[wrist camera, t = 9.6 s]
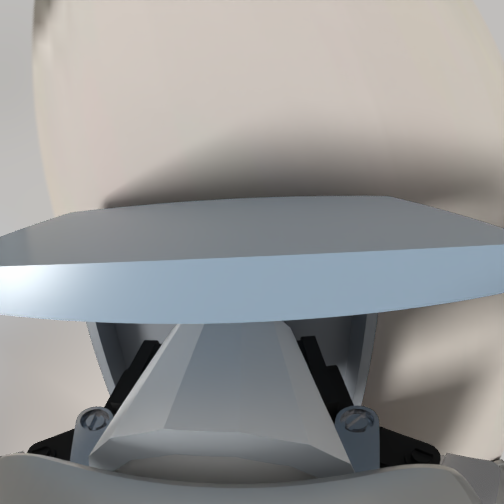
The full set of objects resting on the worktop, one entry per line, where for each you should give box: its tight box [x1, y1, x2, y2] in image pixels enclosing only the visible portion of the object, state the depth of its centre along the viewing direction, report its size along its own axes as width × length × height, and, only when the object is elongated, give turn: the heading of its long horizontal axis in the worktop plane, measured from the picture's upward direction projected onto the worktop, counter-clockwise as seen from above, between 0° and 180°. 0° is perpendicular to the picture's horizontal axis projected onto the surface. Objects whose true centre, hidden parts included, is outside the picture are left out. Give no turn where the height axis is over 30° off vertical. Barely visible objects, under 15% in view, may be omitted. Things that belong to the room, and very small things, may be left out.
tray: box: [0, 196, 504, 406], centre depth 10 cm, size 14×15×9 cm
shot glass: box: [89, 321, 355, 484], centre depth 9 cm, size 7×7×7 cm
